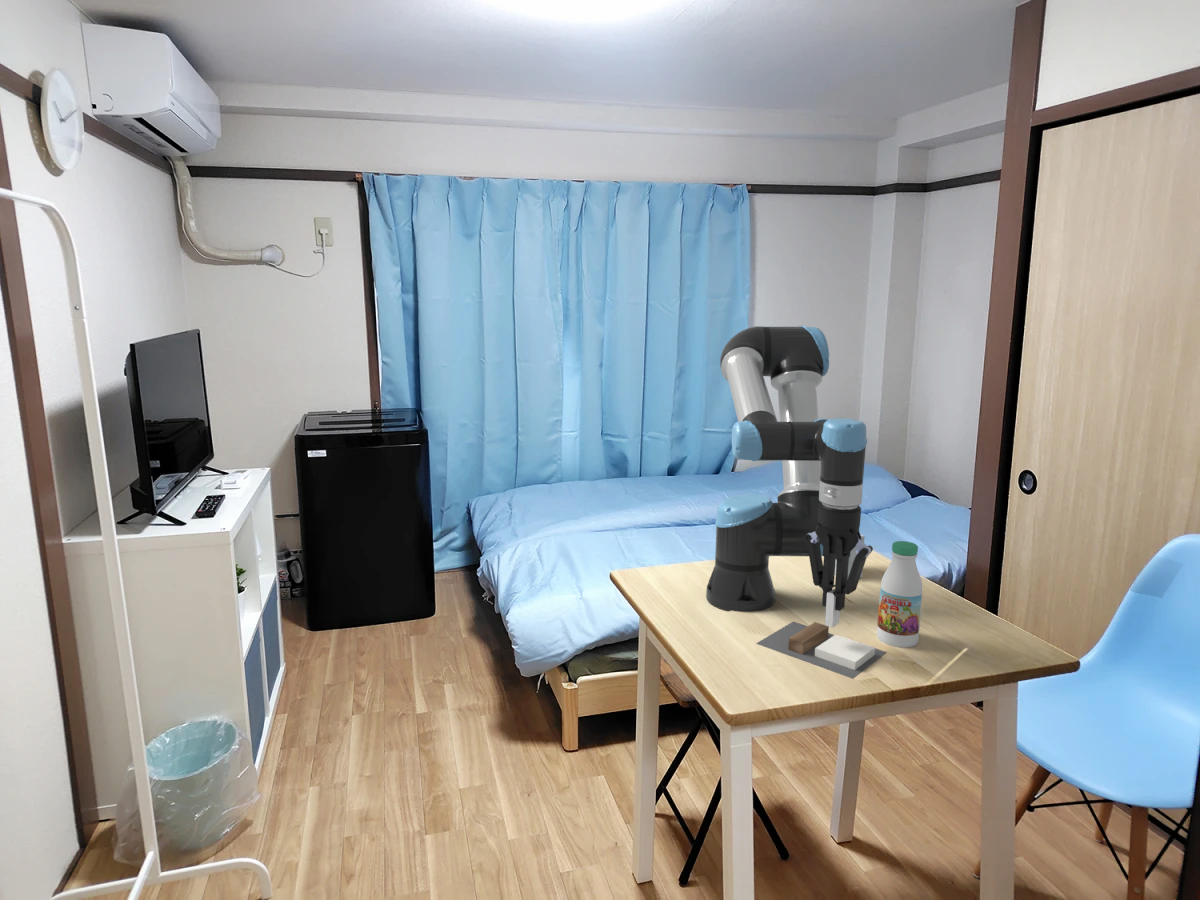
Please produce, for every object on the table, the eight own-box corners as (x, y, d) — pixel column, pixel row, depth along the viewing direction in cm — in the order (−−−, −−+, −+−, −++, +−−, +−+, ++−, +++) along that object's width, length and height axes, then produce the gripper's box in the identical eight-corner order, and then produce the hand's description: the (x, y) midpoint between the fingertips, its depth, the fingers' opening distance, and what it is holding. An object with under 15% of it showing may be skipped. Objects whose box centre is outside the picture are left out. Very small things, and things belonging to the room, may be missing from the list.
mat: (756, 645, 152) (756, 643, 152) (793, 623, 162) (793, 621, 161) (852, 680, 138) (852, 678, 138) (886, 654, 148) (886, 652, 148)
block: (788, 649, 149) (788, 637, 148) (814, 633, 156) (814, 621, 156) (802, 654, 147) (803, 642, 146) (828, 637, 154) (828, 626, 153)
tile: (815, 648, 146) (855, 662, 141) (835, 634, 152) (875, 647, 146) (814, 656, 146) (854, 670, 141) (834, 642, 152) (874, 655, 146)
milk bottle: (877, 629, 159) (885, 535, 154) (918, 635, 156) (927, 540, 151) (875, 645, 152) (882, 547, 147) (917, 652, 149) (926, 552, 144)
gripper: (797, 501, 144) (791, 620, 149) (864, 515, 135) (855, 641, 140) (817, 493, 149) (810, 608, 154) (883, 506, 141) (873, 628, 145)
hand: (831, 624), depth 147 cm, fingers closed
